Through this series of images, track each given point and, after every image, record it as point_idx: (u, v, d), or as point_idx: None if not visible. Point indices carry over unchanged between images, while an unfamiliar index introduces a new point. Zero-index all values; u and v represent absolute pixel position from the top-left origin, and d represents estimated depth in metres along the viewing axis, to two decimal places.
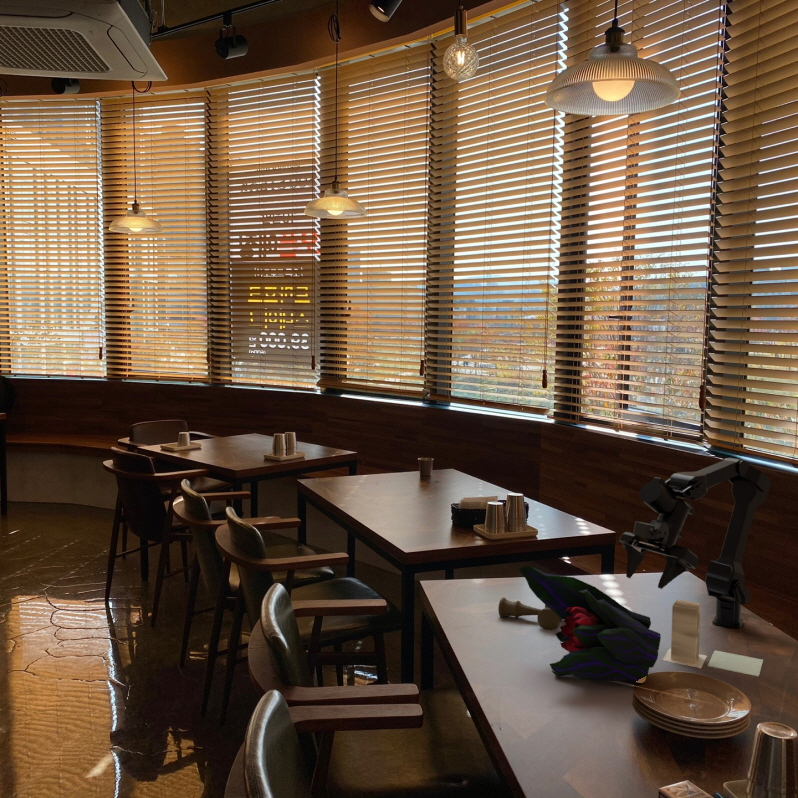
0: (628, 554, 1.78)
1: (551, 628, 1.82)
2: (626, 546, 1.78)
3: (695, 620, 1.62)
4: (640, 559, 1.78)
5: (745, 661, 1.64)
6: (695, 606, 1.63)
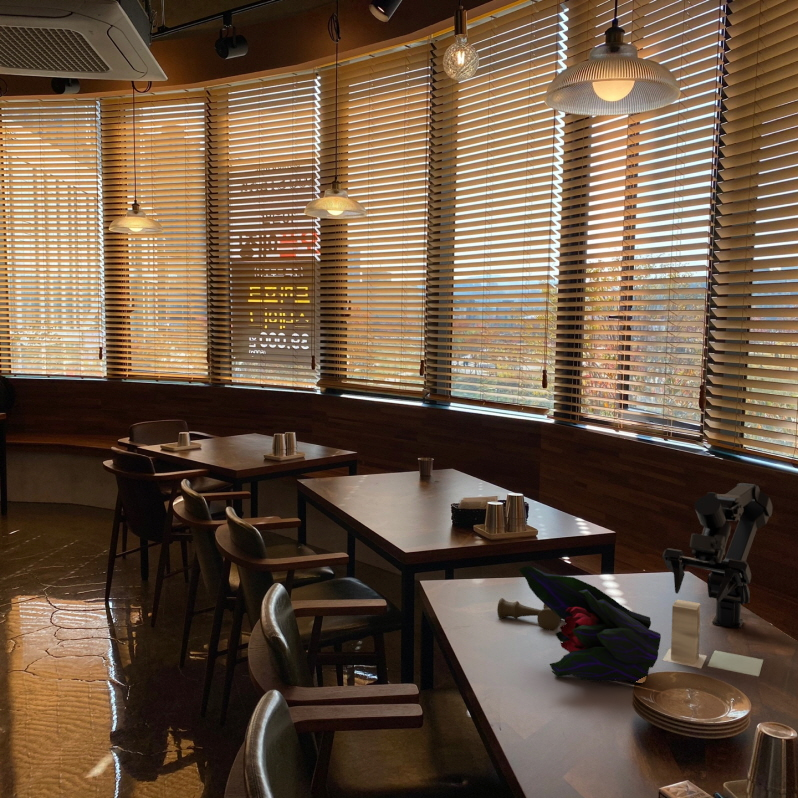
0: (674, 569, 1.75)
1: (551, 628, 1.82)
2: (673, 561, 1.76)
3: (695, 620, 1.62)
4: (682, 576, 1.77)
5: (745, 661, 1.64)
6: (695, 606, 1.63)
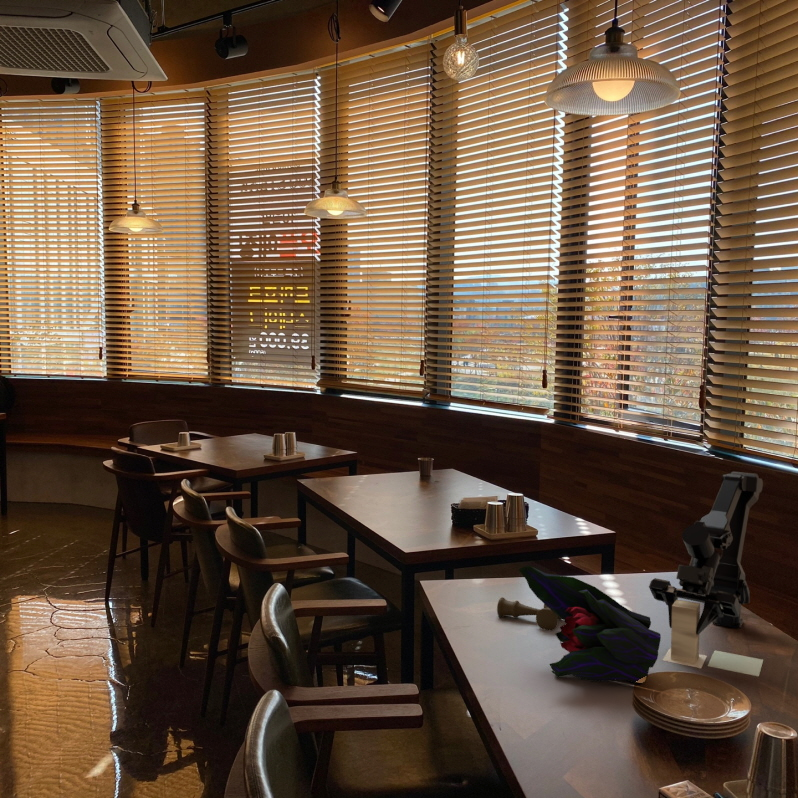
0: (669, 602, 1.69)
1: (549, 628, 1.82)
2: (667, 594, 1.69)
3: (695, 620, 1.62)
4: None
5: (745, 661, 1.64)
6: (695, 606, 1.63)
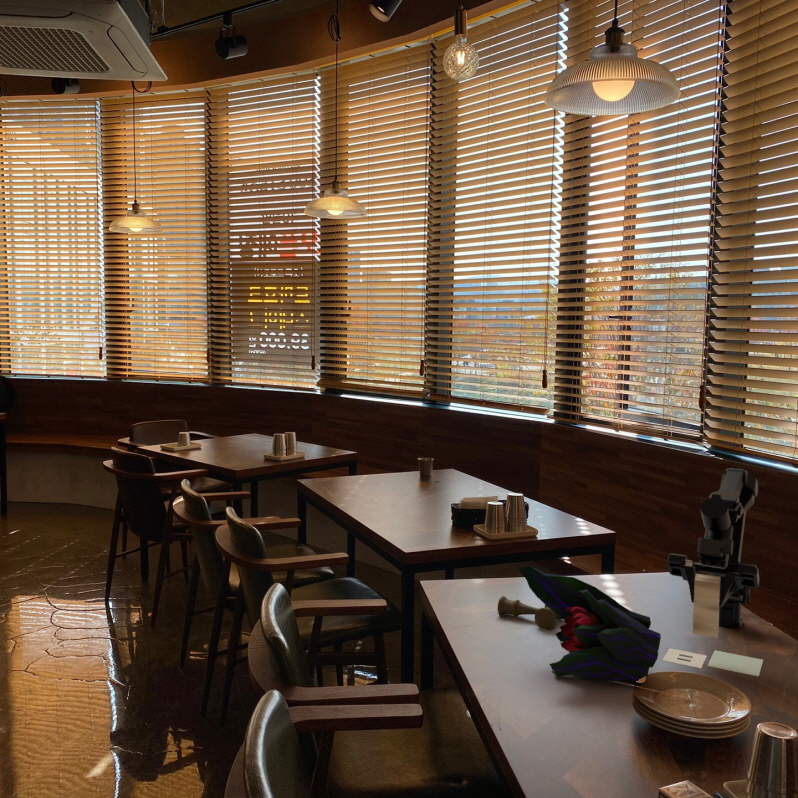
0: (689, 577, 1.67)
1: (548, 628, 1.83)
2: (687, 568, 1.67)
3: (718, 593, 1.60)
4: None
5: (745, 661, 1.64)
6: (717, 580, 1.62)
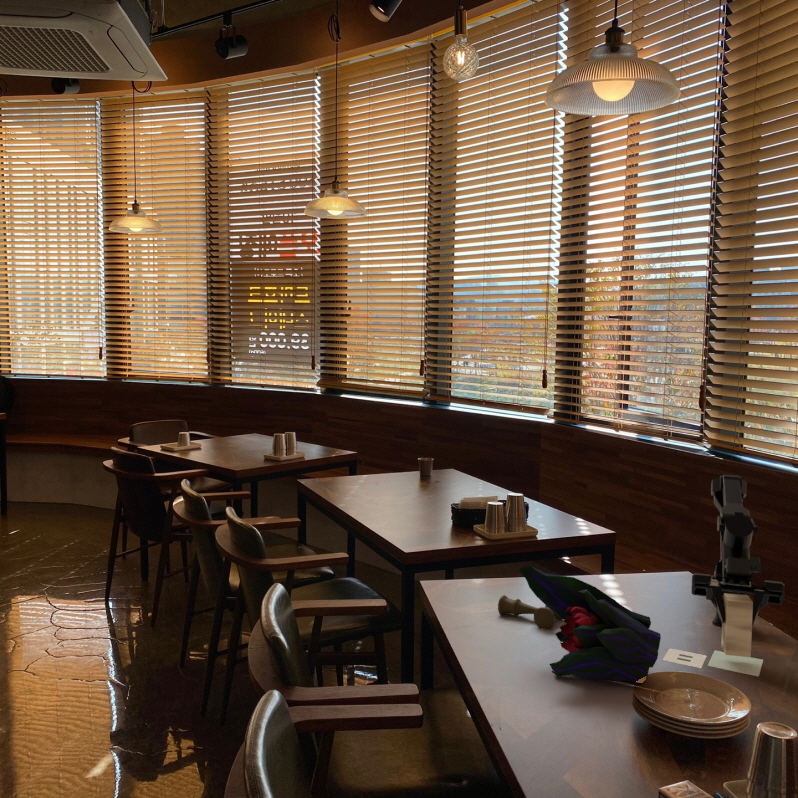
0: (716, 597, 1.65)
1: (546, 627, 1.83)
2: (714, 588, 1.65)
3: (751, 613, 1.60)
4: None
5: (745, 661, 1.64)
6: (748, 599, 1.61)
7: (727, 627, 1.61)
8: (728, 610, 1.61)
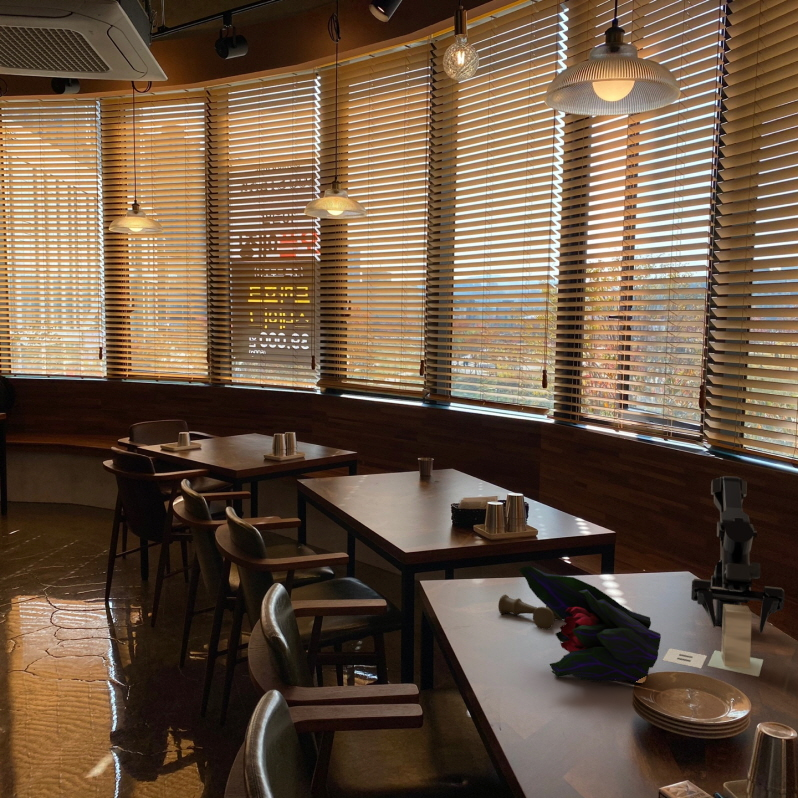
0: (707, 602, 1.66)
1: (545, 627, 1.83)
2: (705, 593, 1.66)
3: (750, 624, 1.60)
4: None
5: None
6: (747, 610, 1.61)
7: (726, 638, 1.61)
8: (727, 621, 1.61)
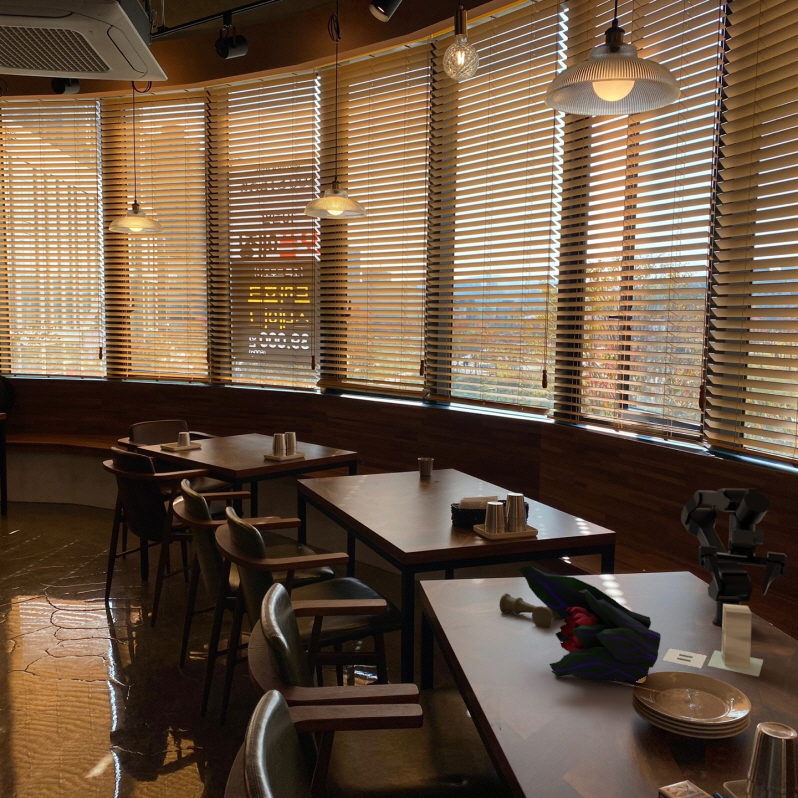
0: (713, 566, 1.74)
1: (544, 626, 1.84)
2: (711, 558, 1.75)
3: (750, 624, 1.60)
4: None
5: None
6: (747, 610, 1.61)
7: (726, 638, 1.61)
8: (727, 621, 1.61)
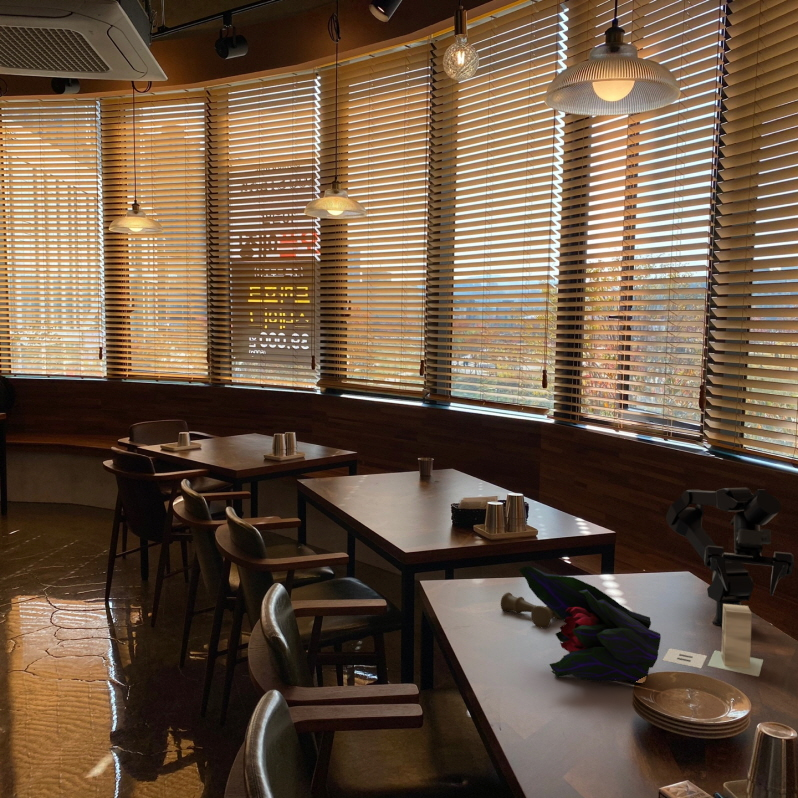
0: (720, 566, 1.74)
1: (542, 626, 1.84)
2: (718, 558, 1.74)
3: (750, 624, 1.60)
4: None
5: None
6: (747, 610, 1.61)
7: (726, 638, 1.61)
8: (727, 621, 1.61)
